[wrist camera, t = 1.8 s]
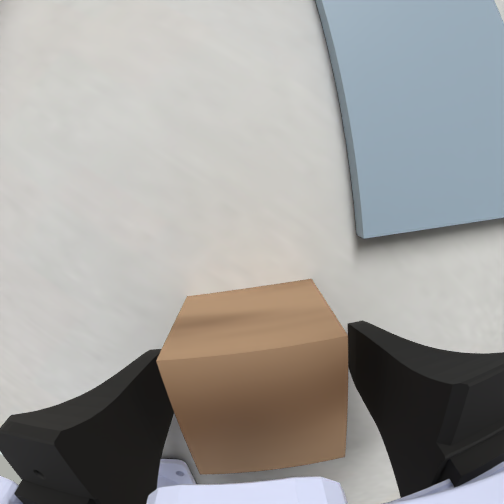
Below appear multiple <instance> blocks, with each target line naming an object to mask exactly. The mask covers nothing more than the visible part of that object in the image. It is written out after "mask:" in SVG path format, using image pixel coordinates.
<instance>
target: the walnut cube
mask: <svg viewBox="0 0 504 504" xmlns="http://www.w3.org/2000/svg"><path fill="white" fill-rule="evenodd" d="M156 362H157V365H158V368H159V371H160V374H161V377H162V380H163V383H164V385H165V388H166V391H167V394H168V397H169V400H170V402H171V405H172V408H173V410H174V413H175V416H176V418H177V421H178V423H179V426H180V428H181V431H182V433H183V436H184V438H185V441H186V443H187V446H188V448H189V450H190V453H191V455H192V457H193V460H194V462H195V464H196V466H197V469H198V471H199V473H200V474H227V473H242V472H254V471H264V470H273V469H281V468H288V467H295V466H301V465H307V464H312V463H318V462H323V461H328V460H333V459H337V458H342V457H345V448H346V431H347V405H348V335H347V334H346V332H345V330H344V329H343V327H342V326H341V324H340V322H339V321H338V319H337V318H336V316H335V315H334V313H333V311H332V310H331V308H330V307H329V305H328V304H327V302H326V300H325V299H324V297H323V296H322V294H321V293H320V291H319V290H318V288H317V287H316V285H315V283H314V282H313V280H312V279H307V280H300V281H294V282H287V283H281V284H274V285H267V286H260V287H254V288H246V289H239V290H232V291H225V292H217V293H210V294H202V295H195V296H187V298H186V300H185V302H184V304H183V306H182V308H181V310H180V312H179V314H178V316H177V318H176V320H175V322H174V324H173V326H172V329H171V331H170V333H169V335H168V337H167V339H166V341H165V343H164V345H163V347H162V350H161V352H160V354H159V356H158V358H157V360H156Z"/></svg>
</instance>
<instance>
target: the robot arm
mask: <svg viewBox="0 0 504 504" xmlns="http://www.w3.org/2000/svg"><path fill="white" fill-rule="evenodd" d="M161 350H162V349H156V350H149V351H147V352H146V353H144V354H143V355H141V356H140V357H139V358H137V359H136V360H135V361H133V362H132V363H131V364H129V365H128V366H127V367H125V368H124V369H123V370H121V371H120V372H118V373H117V374H116V375H114V376H113V377H111V378H110V379H108V380H107V381H105V382H104V383H102V384H101V385H99V386H97V387H96V388H94V389H92V390H90V391H88V392H86V393H85V394H83V395H81V396H78V397H76V398H74V399H71V400H69V401H66V402H64V403H61V404H59V405H56V406H52V407H49V408H46V409H42V410H38V411H34V412H28V413H22V414H16V415H11V416H10V417H9V418H8V419H7V420H6V422H5V423H4V424H3V425H2V426H1V428H0V451H1V453H2V454H3V456H4V457H5V458H6V460H7V461H8V462H9V464H10V465H11V466H12V468H13V469H14V470H15V471H16V473H17V474H18V475H19V476H20V478H21V479H23V480H22V481H21V483H20V484H19V485H18V484H16V483H15V482H14V481H12V480H10V479H7V478H5V477H2V476H0V504H348V503H347V499H346V496H345V493H344V491H343V489H342V487H341V485H340V483H339V482H336V481H333V480H330V479H326V478H323V477H320V476H305V477H289V478H282V479H274V480H265V481H255V482H243V483H227V484H196V482H195V480H194V478H193V476H192V474H191V472H190V470H189V468H188V466H187V464H186V463H185V462H184V461H182V460H178V459H161V455H162V451H163V447H164V444H165V441H166V437H167V434H168V431H169V427H170V424H171V420H172V417H173V413H174V410H173V408H172V405H171V402H170V400H169V397H168V394H167V391H166V388H165V385H164V383H163V380H162V377H161V374H160V371H159V368H158V365H157V362H156V360H157V358H158V356H159V354H160V352H161ZM348 367H349V370H350V373H351V376H352V379H353V381H354V384H355V386H356V388H357V390H358V392H359V394H360V396H361V397H362V399H363V401H364V403H365V405H366V407H367V408H368V410H369V412H370V414H371V416H372V418H373V419H374V421H375V423H376V425H377V427H378V429H379V431H380V434H381V436H382V439H383V442H384V444H385V447H386V450H387V453H388V456H389V459H390V462H391V465H392V468H393V471H394V474H395V478H396V481H397V485H398V488H399V492H400V496H401V498H400V499H397V500H394V501H391V502H388V503H383V504H504V352H503V353H490V354H476V353H460V352H453V351H446V350H441V349H436V348H432V347H428V346H424V345H421V344H418V343H415V342H412V341H409V340H407V339H404V338H401V337H399V336H397V335H394V334H392V333H390V332H387V331H385V330H383V329H381V328H379V327H377V326H374V325H372V324H370V323H368V322H365V321H359V322H354V323H349V324H348Z"/></svg>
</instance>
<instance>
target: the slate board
mask: <svg viewBox="0 0 504 504" xmlns="http://www.w3.org/2000/svg"><path fill="white" fill-rule="evenodd" d="M315 1H316V5H317V8H318V12H319V15H320V19H321V23H322V26H323V30H324V34H325V38H326V42H327V47H328V51H329V55H330V59H331V64H332V68H333V73H334V78H335V83H336V88H337V93H338V98H339V103H340V109H341V114H342V120H343V126H344V132H345V139H346V145H347V152H348V159H349V167H350V174H351V183H352V191H353V200H354V210H355V221H356V233H357V235H358V236H360V237H362V238H363V239H364V238H371V237H378V236H385V235H391V234H398V233H405V232H411V231H418V230H425V229H431V228H438V227H445V226H451V225H458V224H465V223H471V222H478V221H484V220H491V219H498V218H504V23H503V20H502V18H501V15H500V13H499V11H498V8H497V6H496V4H495V1H494V0H315Z"/></svg>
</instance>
